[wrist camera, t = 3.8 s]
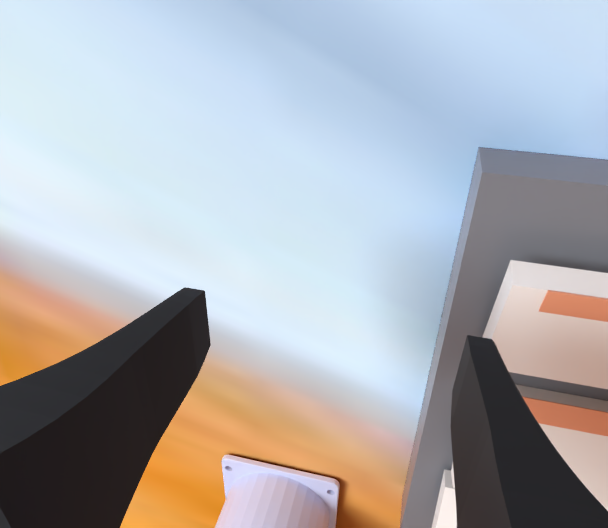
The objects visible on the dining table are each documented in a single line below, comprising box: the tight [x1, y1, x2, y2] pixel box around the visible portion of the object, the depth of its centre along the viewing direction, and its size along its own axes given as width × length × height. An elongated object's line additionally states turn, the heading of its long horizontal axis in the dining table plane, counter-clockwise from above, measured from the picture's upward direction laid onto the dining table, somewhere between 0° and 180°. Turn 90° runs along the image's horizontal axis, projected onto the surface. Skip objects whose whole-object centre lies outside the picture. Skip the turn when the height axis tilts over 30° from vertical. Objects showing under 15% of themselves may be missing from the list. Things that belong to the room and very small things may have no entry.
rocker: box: [451, 384, 608, 511], centre depth 21 cm, size 5×9×1 cm, turn 90°
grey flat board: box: [400, 147, 608, 528], centre depth 22 cm, size 30×12×2 cm, turn 179°
